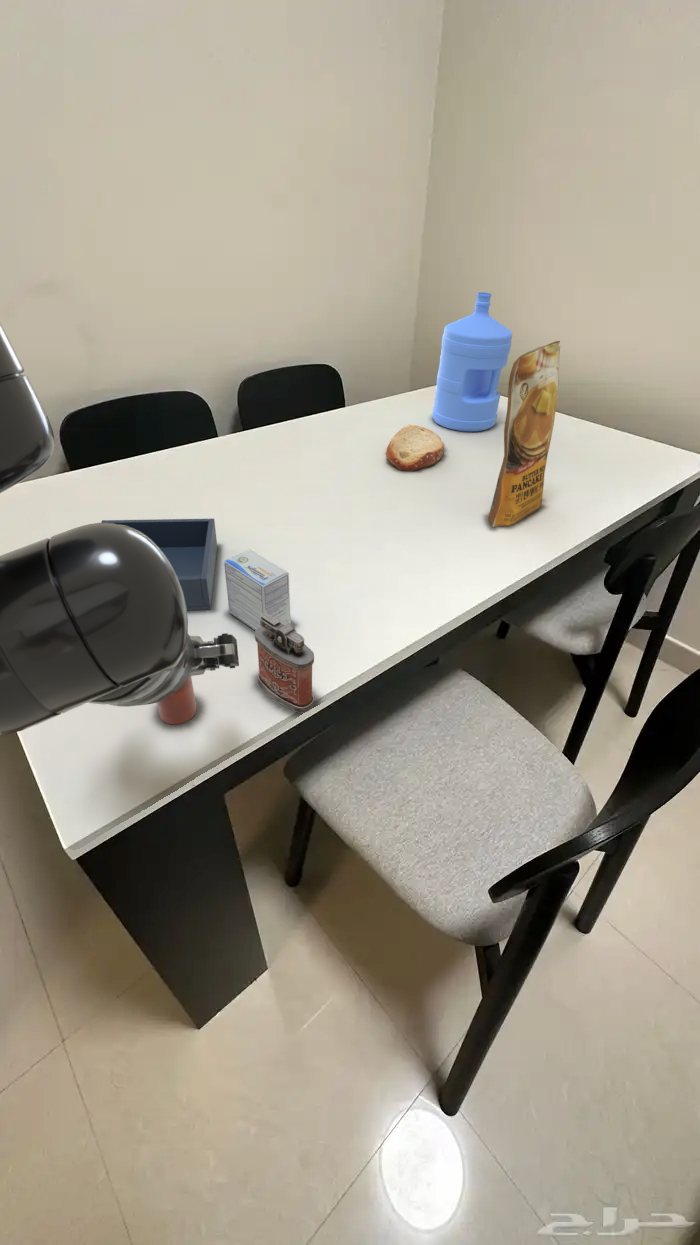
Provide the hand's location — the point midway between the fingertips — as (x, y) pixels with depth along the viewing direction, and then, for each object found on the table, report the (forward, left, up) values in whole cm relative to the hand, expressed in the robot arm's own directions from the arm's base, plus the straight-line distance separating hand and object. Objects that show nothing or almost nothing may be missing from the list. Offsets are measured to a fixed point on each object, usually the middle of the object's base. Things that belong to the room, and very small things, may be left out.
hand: (164, 663), depth 57 cm
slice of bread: (+42, +77, -10) cm, 88 cm away
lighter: (+12, +5, -10) cm, 16 cm away
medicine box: (+9, +19, -10) cm, 23 cm away
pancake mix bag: (+55, +48, -10) cm, 74 cm away
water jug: (+59, +96, -10) cm, 113 cm away
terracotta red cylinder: (0, +3, -10) cm, 10 cm away
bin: (-6, +30, -10) cm, 32 cm away
